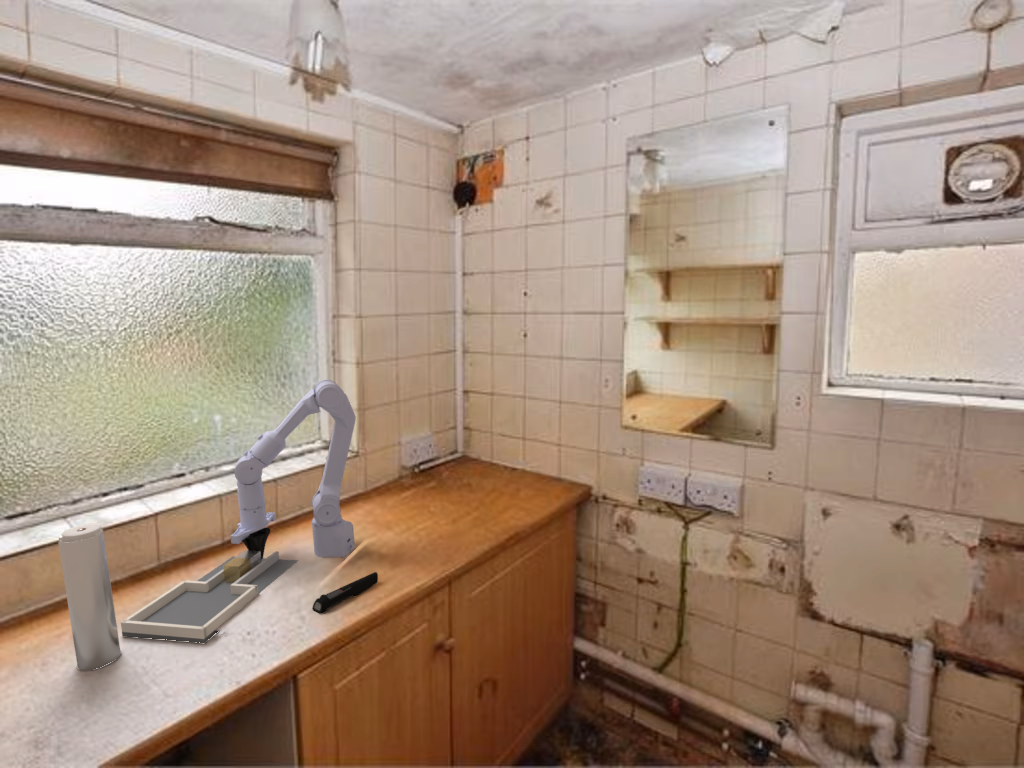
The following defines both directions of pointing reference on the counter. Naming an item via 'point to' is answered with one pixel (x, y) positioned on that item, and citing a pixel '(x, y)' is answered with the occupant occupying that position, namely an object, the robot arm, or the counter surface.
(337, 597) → the electric trimmer
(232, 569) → the mustard yellow cube
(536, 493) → the counter surface
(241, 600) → the channel board
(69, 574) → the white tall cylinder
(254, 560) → the light grey cube
